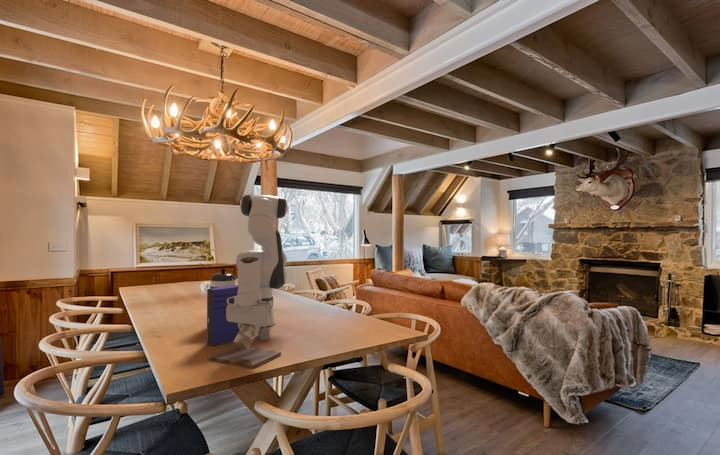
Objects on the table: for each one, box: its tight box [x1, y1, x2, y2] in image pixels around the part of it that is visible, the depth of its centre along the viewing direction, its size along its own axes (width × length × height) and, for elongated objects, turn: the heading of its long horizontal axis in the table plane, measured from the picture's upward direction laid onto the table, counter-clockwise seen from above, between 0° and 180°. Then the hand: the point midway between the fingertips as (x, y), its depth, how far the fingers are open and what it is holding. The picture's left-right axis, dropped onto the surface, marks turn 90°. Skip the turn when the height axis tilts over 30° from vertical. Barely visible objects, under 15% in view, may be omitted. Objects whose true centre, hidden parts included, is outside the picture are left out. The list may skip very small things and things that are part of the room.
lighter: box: [258, 326, 271, 341], centre depth 167 cm, size 7×2×8 cm, turn 103°
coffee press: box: [209, 267, 237, 289], centre depth 190 cm, size 17×16×30 cm
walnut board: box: [206, 344, 282, 369], centre depth 143 cm, size 22×16×1 cm
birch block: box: [232, 324, 256, 349], centre depth 142 cm, size 4×4×8 cm
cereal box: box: [206, 284, 240, 347], centre depth 165 cm, size 17×5×24 cm, turn 141°
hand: (249, 335), depth 144 cm, fingers closed on birch block, 4 cm apart
